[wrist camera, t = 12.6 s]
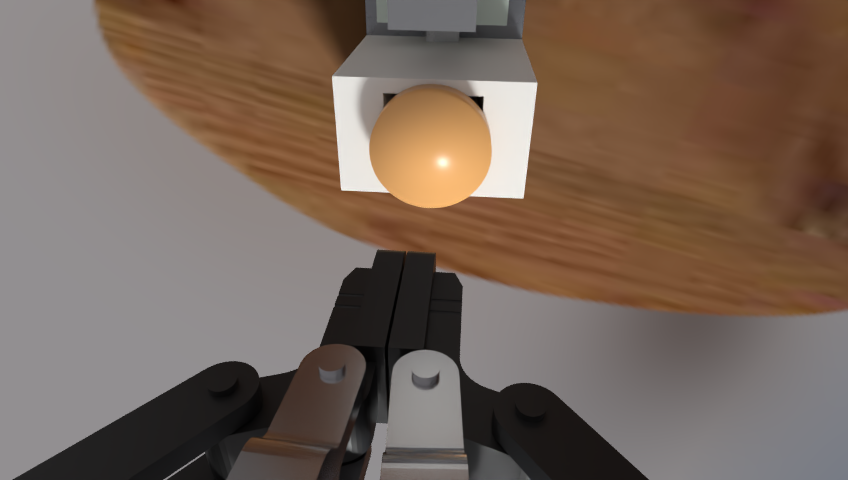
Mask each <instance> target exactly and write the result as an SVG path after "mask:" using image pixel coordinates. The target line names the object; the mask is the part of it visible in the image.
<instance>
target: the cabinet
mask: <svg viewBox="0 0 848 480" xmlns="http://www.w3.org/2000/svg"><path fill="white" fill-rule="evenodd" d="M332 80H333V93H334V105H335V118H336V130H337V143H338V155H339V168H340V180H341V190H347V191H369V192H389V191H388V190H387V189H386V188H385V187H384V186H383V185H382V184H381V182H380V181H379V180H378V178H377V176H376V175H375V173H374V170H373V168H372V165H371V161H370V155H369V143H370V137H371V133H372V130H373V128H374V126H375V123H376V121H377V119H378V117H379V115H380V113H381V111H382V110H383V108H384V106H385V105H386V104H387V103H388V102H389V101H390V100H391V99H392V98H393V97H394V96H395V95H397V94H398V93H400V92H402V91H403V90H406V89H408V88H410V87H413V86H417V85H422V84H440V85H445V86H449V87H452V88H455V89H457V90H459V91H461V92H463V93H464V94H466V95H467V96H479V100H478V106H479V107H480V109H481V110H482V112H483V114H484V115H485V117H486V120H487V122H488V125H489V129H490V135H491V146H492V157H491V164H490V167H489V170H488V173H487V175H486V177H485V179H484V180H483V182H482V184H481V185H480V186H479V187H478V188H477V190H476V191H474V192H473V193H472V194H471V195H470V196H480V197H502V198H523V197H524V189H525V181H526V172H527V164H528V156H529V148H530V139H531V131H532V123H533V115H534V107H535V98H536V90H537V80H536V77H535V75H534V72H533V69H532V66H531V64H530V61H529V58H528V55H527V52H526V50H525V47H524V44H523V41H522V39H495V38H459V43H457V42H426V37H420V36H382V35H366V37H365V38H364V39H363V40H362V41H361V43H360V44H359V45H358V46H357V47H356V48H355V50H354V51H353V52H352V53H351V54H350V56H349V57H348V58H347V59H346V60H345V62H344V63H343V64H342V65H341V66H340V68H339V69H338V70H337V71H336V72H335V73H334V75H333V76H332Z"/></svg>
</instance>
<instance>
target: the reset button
mask: <svg viewBox="0 0 848 480" xmlns="http://www.w3.org/2000/svg"><path fill="white" fill-rule="evenodd" d="M369 155H370V161H371V165H372V168H373V170H374V173H375V175H376V176H377V178H378V180H379V181H380V182H381V184H382V185H383V186H384V187H385V188H386V189H387V190H388V191H389V192H390V193H391V194H392V195H394V196H395V197H397V198H398V199H400V200H402V201H404V202H406V203H408V204H411V205H414V206H418V207H424V208H440V207H446V206H450V205H453V204H456V203H458V202H460V201H462V200H464V199H466V198H467V197H468V196H470V195H471V194H472V193H473V192H474V191H476V190H477V188H478V187H479V186H480V185H481V184H482V182H483V180H484V179H485V177H486V175H487V173H488V170H489V167H490V164H491V157H492V146H491V135H490V129H489V125H488V122H487V120H486V117H485V115H484V114H483V112H482V110H481V109H480V107H479V106H478V105H477V104H476V103H475V102H474V101H473V100H472V99H471V98H470V97H469V96H467V95H466V94H464V93H463V92H461V91H459V90H457V89H455V88H452V87H449V86H445V85H440V84H422V85H417V86H413V87H410V88H408V89H406V90H403V91H402V92H400V93H398V94H397V95H395V96H394V97H393V98H392V99H391V100H390V101H389V102H388V103H387V104H386V105H385V106H384V108H383V110H382V111H381V113H380V115H379V117H378V119H377V121H376V123H375V126H374V128H373V130H372V133H371V137H370V143H369Z"/></svg>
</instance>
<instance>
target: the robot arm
mask: <svg viewBox="0 0 848 480" xmlns="http://www.w3.org/2000/svg"><path fill="white" fill-rule="evenodd" d="M462 288H463V286H462V285H461V283H460V281H459V279H458V278H457V276H456V274H455V273H442V272H441V273H440V272H436V253H432V252H414V251H408V252H407V255H406V251H394V250H377V253H376V256H375V259H374V263H373V266H372V269H371V268H355V269H354V270H353V271H352V272H351V273H350V274H349V275H348V276H347V277H346V278H345V279H344V280H343V283H342V286H341V289H340V291H339V296H338V297H337V300H336V303H335V307H334V308H333V311H332V314H331V316H330V319H329V322H328V325H327V328H326V331H325V333H324V336H323V339H322V342H321V344H320V347H319V348H317V349H315V350H313V351H312V352H310V353H309V354H307V355H306V356H305V358H304V359H303V360H302V362H301V363H300V366H299V368H298V369H296V370H293V371H290V372H287V373H282V374H277V375H272V376H266V377H260V378H259V375H258V373H257V371H256V370H255V369H254V368H253V367H252V366H250V365H249V364H246V363H243V362H237V361H229V362H223V363H219V364H216V365H213V366H211V367H209V368H207V369H205V370H203V371H201V372H200V373H198V374H196V375H195V376H193V377H191V378H189V379H188V380H186V381H184V382H182V383H181V384H179V385H177V386H175V387H174V388H172V389H170V390H168V391H167V392H165V393H163V394H161V395H160V396H158V397H156V398H155V399H153V400H151V401H149V402H147V403H146V404H144V405H142V406H140V407H139V408H137V409H136V410H134V411H132V412H130V413H128V414H126V415H125V416H123V417H121V418H120V419H118V420H116V421H114V422H112V423H111V424H109V425H107V426H106V427H104V428H102V429H100V430H99V431H97V432H95V433H93V434H92V435H90V436H88V437H86V438H85V439H83V440H81V441H79V442H78V443H76V444H74V445H72V446H71V447H69V448H67V449H65V450H64V451H62V452H60V453H58V454H57V455H55V456H53V457H52V458H50V459H48V460H46V461H44V462H43V463H41V464H39V465H37V466H36V467H34V468H32V469H30V470H29V471H27V472H25V473H24V474H22V475H20V476H18V477H16V478H15V479H13V480H163V479H165V478H166V477H168V476H169V475H171V474H172V473H174V472H175V471H177V470H178V469H180V468H181V467H183V466H184V465H186V464H187V463H188V462H190V461H191V460H193V459H195V458H196V457H197V456H199V455H200V454H202V453H203V452H205V454H204V455H203V456H201V457H200V458H198V459H197V460H195V461H194V462H192V463H191V464H189V465H188V466H186V467H185V468H183V469H182V470H181V471H179V472H177V473H176V474H175V475H173V476H172V477H170V478H169V479H167V480H364V478H365V475H366V471H367V468H368V464H369V460H370V457H371V452H372V448H371V447H372V446H371V443H372V440H373V436H374V431H375V426H376V423H388V428H387V439H386V450H385V452H384V453H383V457H382V464H381V476H380V480H649V479H648V478H646V477H645V476H644V475H643V474H642V473H641V472H640V471H639V470H638V469H637V468H635V467H634V466H633V465H632V464H631V463H630V462H629V461H628V460H627V459H625V458H624V457H623V456H622V455H621V454H620V453H619V452H618V451H617V450H615V448H614V447H612V446H611V445H610V444H609V443H608V442H607V441H606V440H605V439H604V438H603V437H601V436H600V435H599V434H598V433H597V432H596V431H595V430H594V429H593V428H592V427H590V426H589V425H588V424H587V423H586V422H585V421H584V420H583V419H582V418H581V417H579V416H578V415H577V414H576V413H575V412H574V411H573V410H572V409H571V408H570V407H568V406H567V405H566V404H565V403H564V402H563V401H562V400H561V399H560V398H559V397H558V396H556V395H555V394H554V393H553V392H551V391H550V390H548V389H546V388H544V387H542V386H539V385H535V384H530V383H518V384H513V385H510V386H508V387H506V388H504V389H503V390H501V391H500V392H497V391H494V390H491V389H488V388H486V387H483V386H481V385H479V384H477V383H475V382H474V381H473V380H471V379H470V378H469V377H468V376H467V375H466V373H465V372H464V371H463V369H462V367H461V364H460V334H461V312H462Z"/></svg>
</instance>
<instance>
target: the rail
mask: <svg viewBox="0 0 848 480" xmlns="http://www.w3.org/2000/svg"><path fill="white" fill-rule="evenodd" d="M525 3H526V0H509V6H508V17H507V26H499V25H476V32H455V31H416V30H388V23H380V22H377V7H376V0H365V7H366V30H367V35H382V36H420V37H426V42H457V43H459V38H495V39H522V32H523V22H524V12H525ZM469 97H470V98H471V99H472V100H473V101H474V102H475V103H476V104H477V105H478V100H479V96H469Z"/></svg>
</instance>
